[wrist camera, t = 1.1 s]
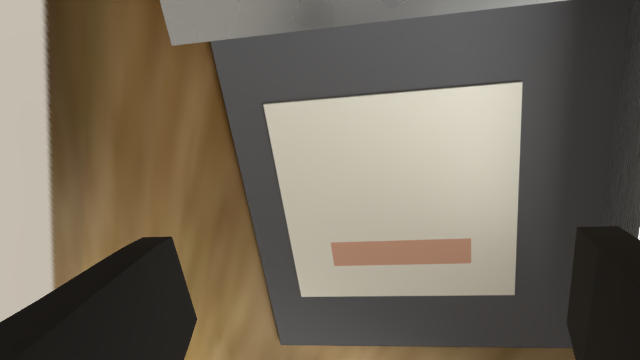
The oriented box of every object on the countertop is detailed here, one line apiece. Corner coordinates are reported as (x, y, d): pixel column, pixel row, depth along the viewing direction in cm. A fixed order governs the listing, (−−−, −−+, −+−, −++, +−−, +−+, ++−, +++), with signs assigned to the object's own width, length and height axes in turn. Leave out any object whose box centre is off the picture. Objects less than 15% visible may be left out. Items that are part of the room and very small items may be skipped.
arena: (623, 345, 22) (654, 409, 19) (282, 341, 25) (265, 397, 22) (695, -92, 14) (764, -91, 12) (198, -21, 17) (157, -8, 15)
